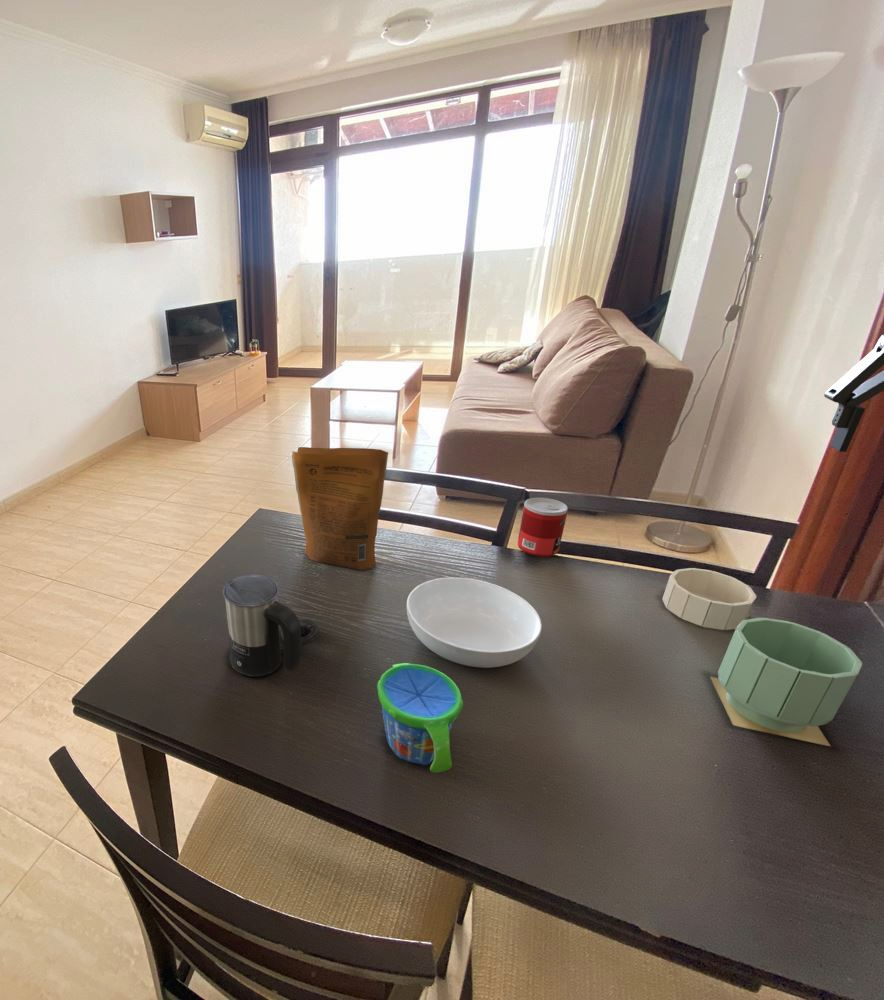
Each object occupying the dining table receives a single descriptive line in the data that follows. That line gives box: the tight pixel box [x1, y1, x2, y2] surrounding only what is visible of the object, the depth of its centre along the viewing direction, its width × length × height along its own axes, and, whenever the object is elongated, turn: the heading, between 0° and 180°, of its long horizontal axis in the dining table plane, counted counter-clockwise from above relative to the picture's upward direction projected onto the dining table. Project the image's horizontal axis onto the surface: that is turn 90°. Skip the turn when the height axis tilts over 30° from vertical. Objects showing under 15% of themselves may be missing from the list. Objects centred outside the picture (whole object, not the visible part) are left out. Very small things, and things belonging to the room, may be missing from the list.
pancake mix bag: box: [291, 446, 389, 571], centre depth 114 cm, size 7×19×28 cm, turn 62°
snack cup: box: [376, 662, 464, 774], centre depth 74 cm, size 16×10×10 cm
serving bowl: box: [406, 577, 543, 669], centre depth 93 cm, size 21×21×7 cm
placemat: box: [709, 676, 831, 747], centre depth 77 cm, size 10×10×1 cm
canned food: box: [517, 497, 569, 558], centre depth 116 cm, size 8×8×11 cm
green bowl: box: [717, 617, 863, 733], centre depth 74 cm, size 12×12×12 cm
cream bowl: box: [662, 567, 758, 631], centre depth 95 cm, size 11×11×6 cm
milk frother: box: [222, 574, 321, 678], centre depth 93 cm, size 14×16×15 cm
